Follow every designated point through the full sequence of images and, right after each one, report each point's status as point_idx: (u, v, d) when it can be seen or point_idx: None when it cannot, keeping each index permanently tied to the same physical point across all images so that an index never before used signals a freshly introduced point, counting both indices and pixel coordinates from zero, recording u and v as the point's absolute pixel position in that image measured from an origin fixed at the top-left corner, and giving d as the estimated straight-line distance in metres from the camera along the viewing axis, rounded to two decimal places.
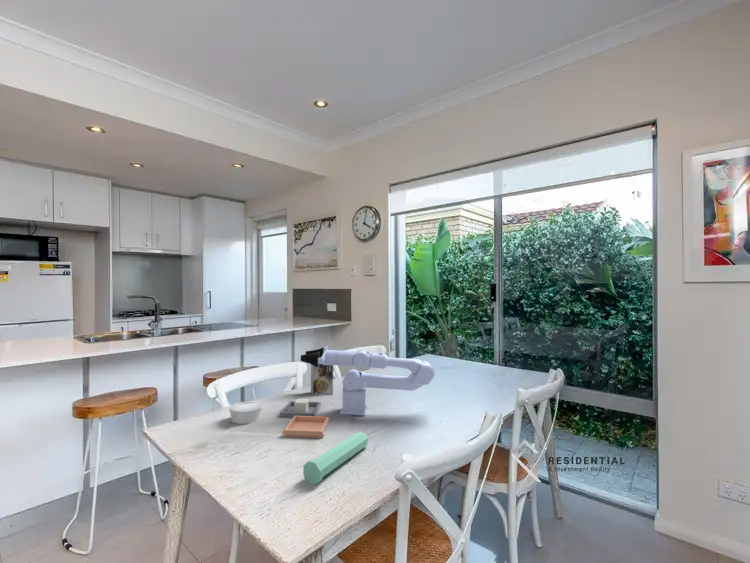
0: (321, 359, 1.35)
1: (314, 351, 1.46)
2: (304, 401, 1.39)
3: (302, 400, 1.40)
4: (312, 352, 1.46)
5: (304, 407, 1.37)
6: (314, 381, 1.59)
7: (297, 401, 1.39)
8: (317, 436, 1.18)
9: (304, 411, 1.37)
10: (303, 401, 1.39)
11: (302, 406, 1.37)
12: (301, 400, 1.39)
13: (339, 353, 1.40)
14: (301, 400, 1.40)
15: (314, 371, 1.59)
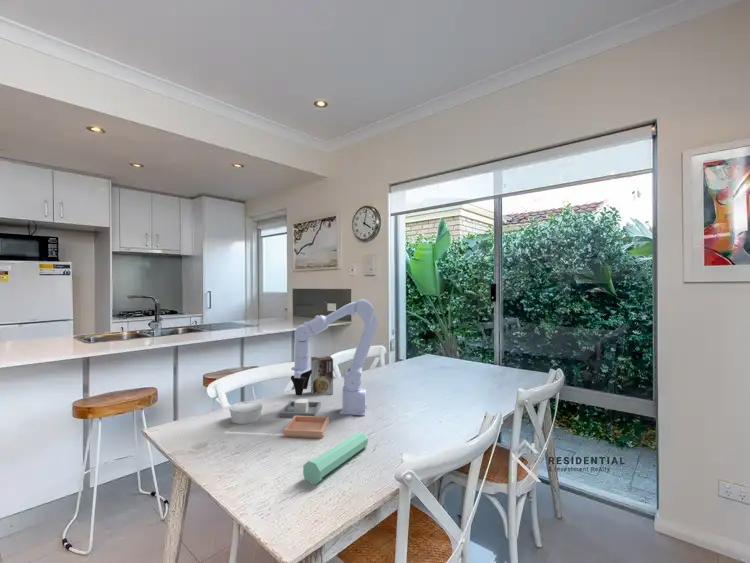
0: (295, 374, 1.32)
1: None
2: (304, 401, 1.39)
3: (302, 400, 1.40)
4: None
5: (304, 407, 1.37)
6: (314, 381, 1.59)
7: (297, 401, 1.39)
8: (317, 436, 1.18)
9: (304, 411, 1.37)
10: (303, 401, 1.39)
11: (302, 406, 1.37)
12: (301, 400, 1.39)
13: (296, 355, 1.37)
14: (301, 400, 1.40)
15: (314, 371, 1.59)
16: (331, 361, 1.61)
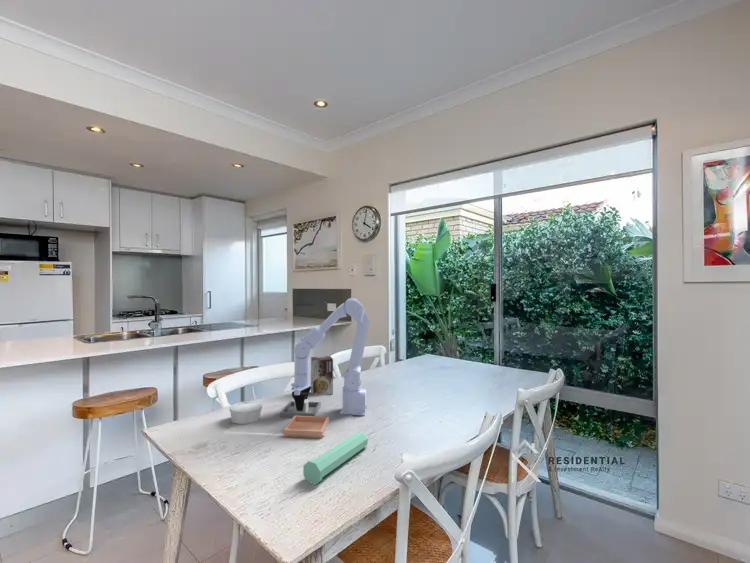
0: (295, 391, 1.32)
1: None
2: (304, 401, 1.39)
3: None
4: None
5: (304, 407, 1.37)
6: (314, 381, 1.59)
7: None
8: (317, 436, 1.18)
9: (304, 411, 1.37)
10: None
11: None
12: None
13: (295, 371, 1.37)
14: None
15: (314, 371, 1.59)
16: (331, 361, 1.61)
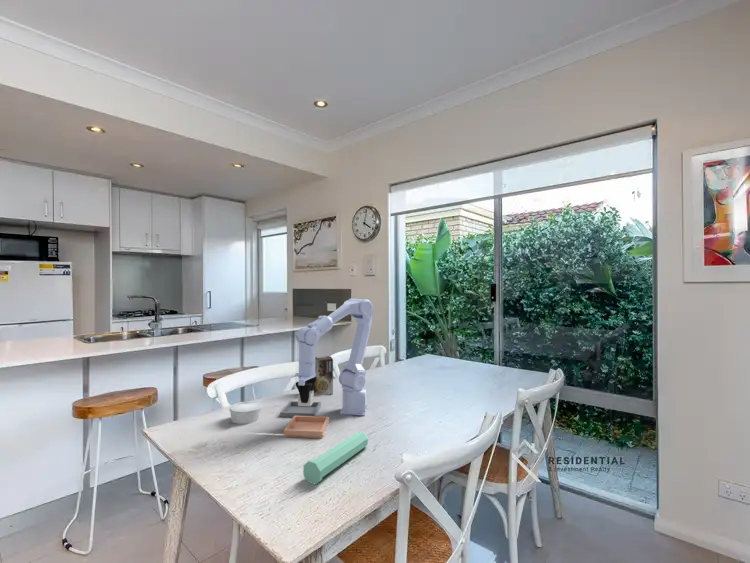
0: (299, 381, 1.20)
1: None
2: (309, 393, 1.27)
3: None
4: None
5: (309, 399, 1.25)
6: None
7: None
8: (317, 436, 1.18)
9: (309, 404, 1.25)
10: None
11: None
12: None
13: (304, 360, 1.24)
14: None
15: None
16: (331, 361, 1.61)
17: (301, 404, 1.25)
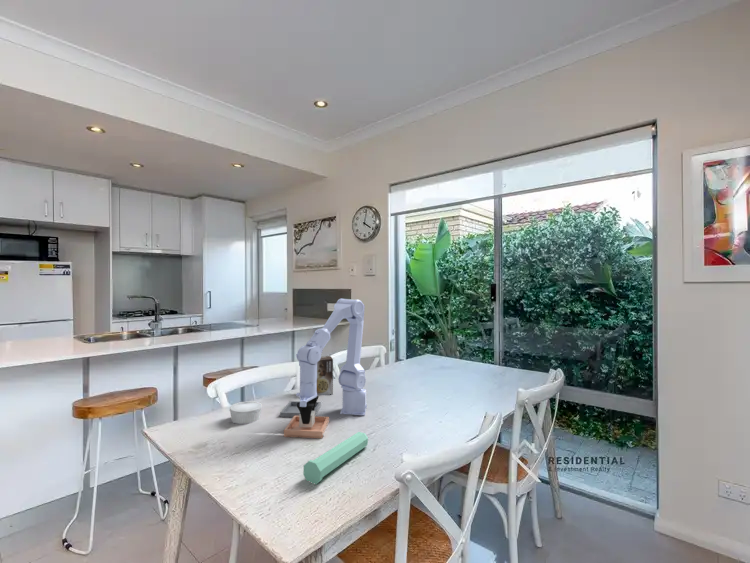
0: (300, 402, 1.17)
1: None
2: None
3: None
4: None
5: (310, 420, 1.22)
6: None
7: None
8: (317, 436, 1.18)
9: (310, 425, 1.22)
10: None
11: None
12: None
13: (307, 380, 1.21)
14: None
15: None
16: (331, 361, 1.61)
17: (302, 425, 1.22)
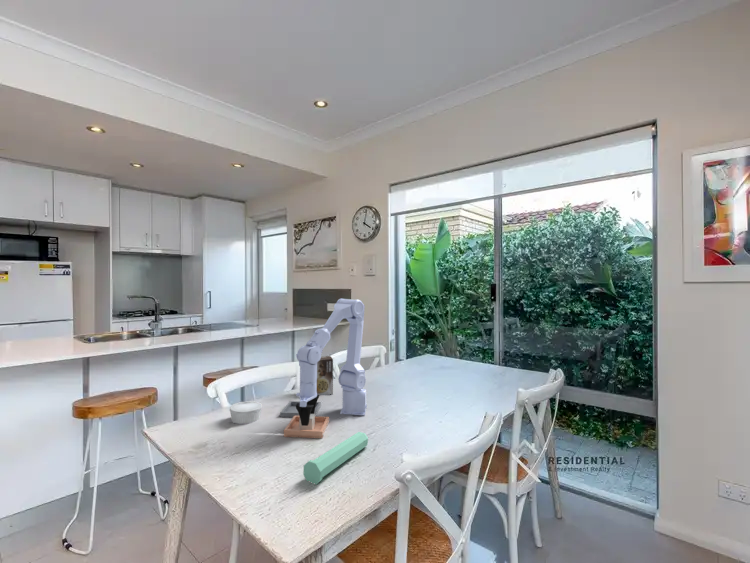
0: (300, 402, 1.17)
1: None
2: (310, 416, 1.23)
3: None
4: None
5: (310, 423, 1.22)
6: None
7: None
8: (317, 436, 1.18)
9: (310, 428, 1.22)
10: None
11: None
12: None
13: (307, 380, 1.21)
14: None
15: None
16: (331, 361, 1.61)
17: (302, 428, 1.22)
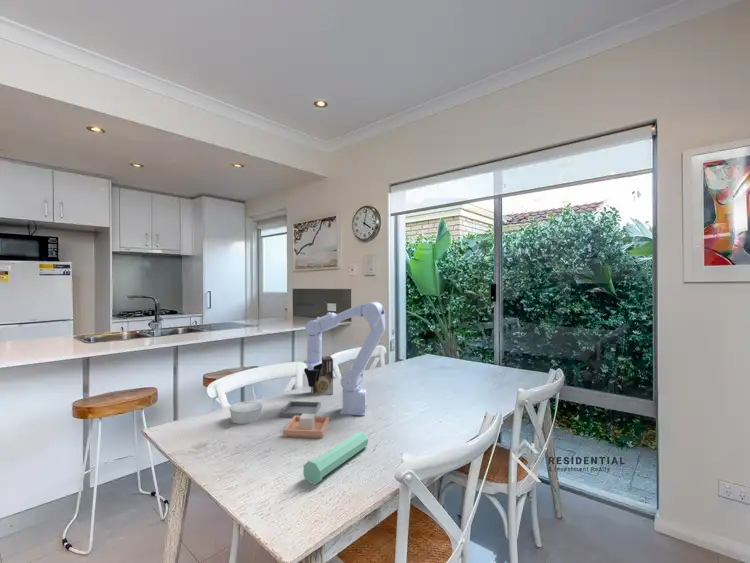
0: (308, 366, 1.38)
1: None
2: (310, 416, 1.23)
3: (308, 415, 1.24)
4: None
5: (310, 423, 1.22)
6: None
7: (302, 416, 1.23)
8: (317, 436, 1.18)
9: (310, 428, 1.22)
10: (309, 416, 1.23)
11: (308, 422, 1.22)
12: (307, 416, 1.24)
13: (307, 348, 1.44)
14: (307, 415, 1.24)
15: None
16: (331, 361, 1.61)
17: (302, 428, 1.22)
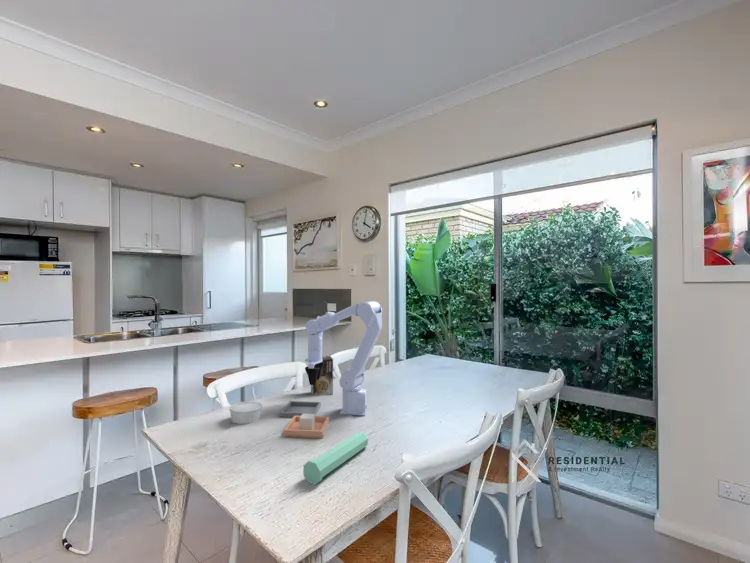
0: (309, 365, 1.41)
1: None
2: (310, 416, 1.23)
3: (308, 415, 1.24)
4: None
5: (310, 423, 1.22)
6: None
7: (302, 416, 1.23)
8: (317, 436, 1.18)
9: (310, 428, 1.22)
10: (309, 416, 1.23)
11: (308, 422, 1.22)
12: (307, 416, 1.24)
13: (308, 346, 1.47)
14: (307, 415, 1.24)
15: None
16: (331, 361, 1.61)
17: (302, 428, 1.22)
